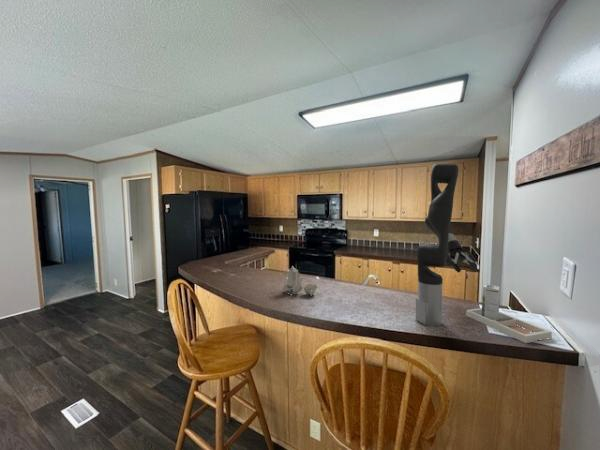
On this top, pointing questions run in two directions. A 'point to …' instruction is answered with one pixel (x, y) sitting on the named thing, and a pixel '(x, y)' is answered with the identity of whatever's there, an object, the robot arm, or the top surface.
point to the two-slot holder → (511, 321)
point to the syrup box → (490, 302)
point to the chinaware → (297, 283)
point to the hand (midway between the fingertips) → (467, 271)
